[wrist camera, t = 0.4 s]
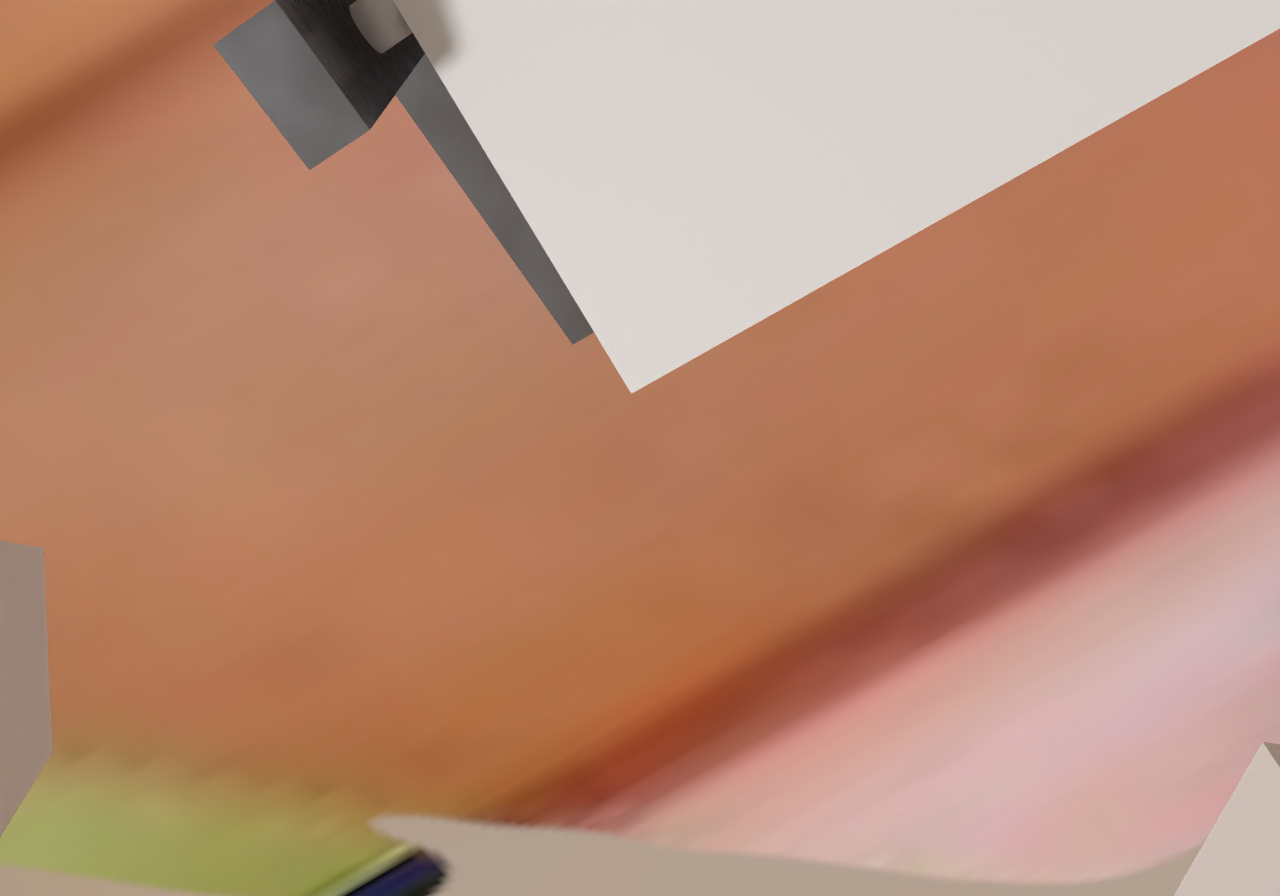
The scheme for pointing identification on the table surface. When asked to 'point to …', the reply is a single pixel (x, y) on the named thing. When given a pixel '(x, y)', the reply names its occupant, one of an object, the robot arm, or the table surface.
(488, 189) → the grey stand base
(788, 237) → the stage
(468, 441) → the table surface
